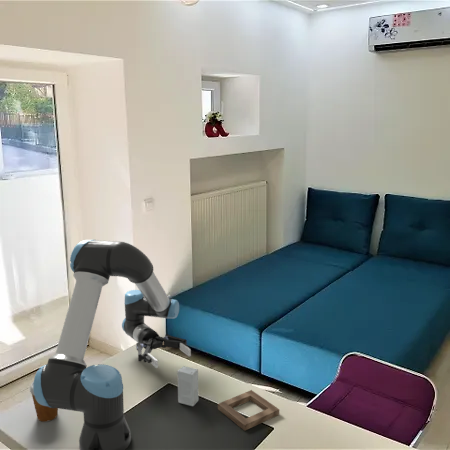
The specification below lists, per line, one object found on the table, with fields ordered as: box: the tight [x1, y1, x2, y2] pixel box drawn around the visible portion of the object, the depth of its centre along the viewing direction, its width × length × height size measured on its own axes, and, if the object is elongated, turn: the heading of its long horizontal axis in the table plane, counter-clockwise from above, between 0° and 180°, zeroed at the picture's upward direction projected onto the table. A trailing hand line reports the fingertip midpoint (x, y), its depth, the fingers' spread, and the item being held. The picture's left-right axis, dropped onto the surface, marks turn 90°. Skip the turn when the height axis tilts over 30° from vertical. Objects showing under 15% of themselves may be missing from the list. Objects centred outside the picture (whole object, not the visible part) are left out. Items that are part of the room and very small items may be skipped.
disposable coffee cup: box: [29, 380, 59, 423], centre depth 161 cm, size 10×10×12 cm
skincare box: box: [176, 365, 199, 407], centre depth 169 cm, size 6×4×12 cm
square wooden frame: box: [217, 389, 280, 431], centre depth 165 cm, size 15×15×2 cm
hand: (173, 358), depth 176 cm, fingers open, 13 cm apart
